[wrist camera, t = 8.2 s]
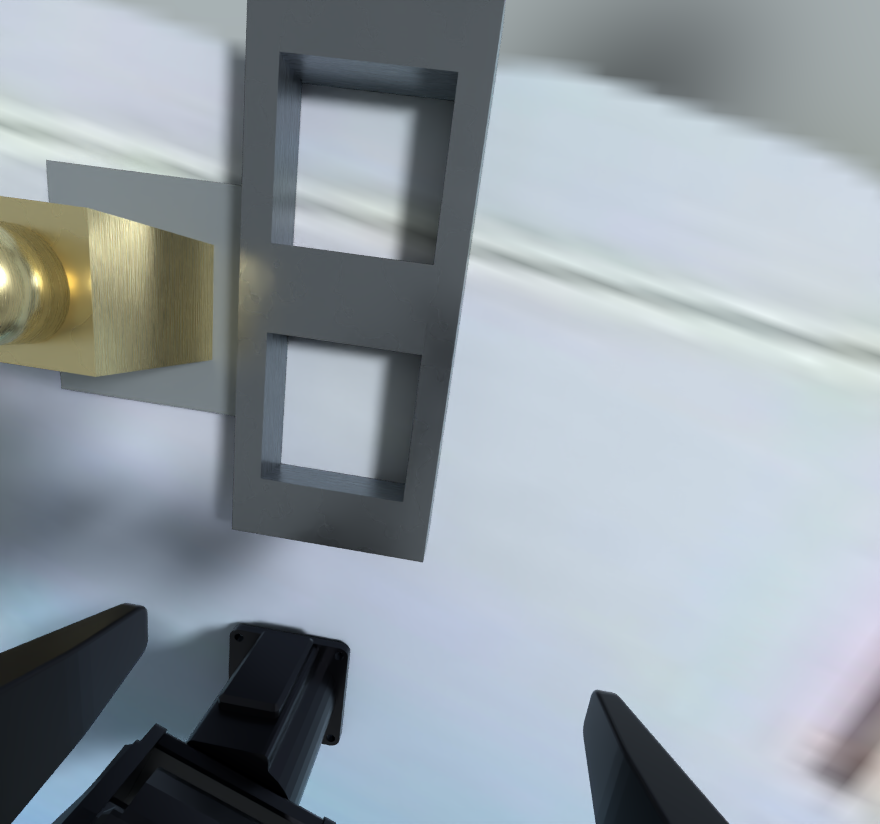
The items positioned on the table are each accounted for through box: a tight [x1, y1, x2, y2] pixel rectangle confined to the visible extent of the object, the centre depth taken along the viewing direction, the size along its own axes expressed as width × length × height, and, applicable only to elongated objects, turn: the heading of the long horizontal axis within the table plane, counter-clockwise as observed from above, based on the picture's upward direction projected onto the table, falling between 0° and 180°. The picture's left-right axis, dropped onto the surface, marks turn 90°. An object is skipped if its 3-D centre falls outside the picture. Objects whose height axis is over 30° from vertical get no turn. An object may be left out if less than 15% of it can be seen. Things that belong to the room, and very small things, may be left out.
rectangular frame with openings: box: [232, 0, 506, 562], centre depth 18 cm, size 22×9×2 cm, turn 172°
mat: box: [46, 160, 242, 416], centre depth 19 cm, size 10×10×1 cm
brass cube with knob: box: [0, 196, 214, 377], centre depth 15 cm, size 5×5×8 cm
